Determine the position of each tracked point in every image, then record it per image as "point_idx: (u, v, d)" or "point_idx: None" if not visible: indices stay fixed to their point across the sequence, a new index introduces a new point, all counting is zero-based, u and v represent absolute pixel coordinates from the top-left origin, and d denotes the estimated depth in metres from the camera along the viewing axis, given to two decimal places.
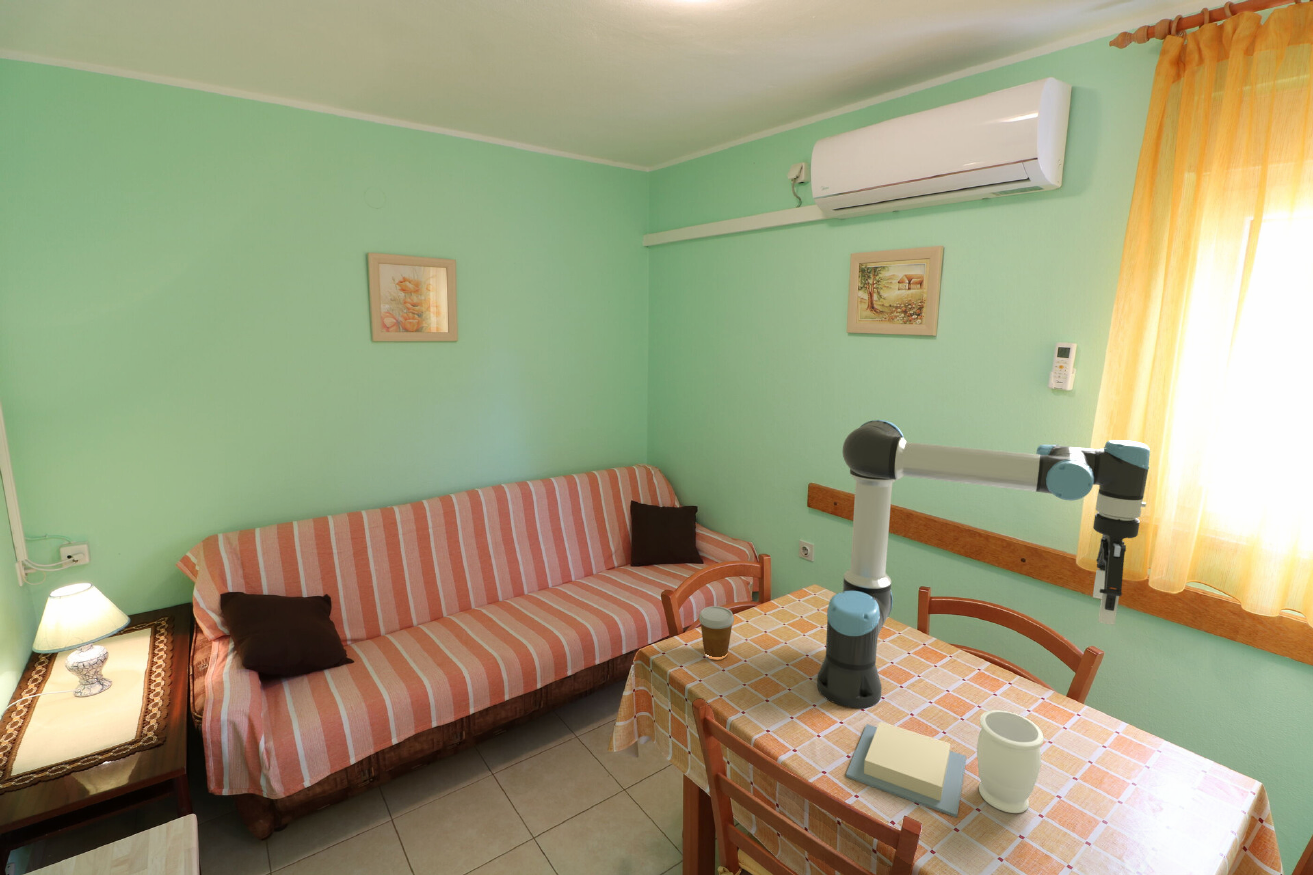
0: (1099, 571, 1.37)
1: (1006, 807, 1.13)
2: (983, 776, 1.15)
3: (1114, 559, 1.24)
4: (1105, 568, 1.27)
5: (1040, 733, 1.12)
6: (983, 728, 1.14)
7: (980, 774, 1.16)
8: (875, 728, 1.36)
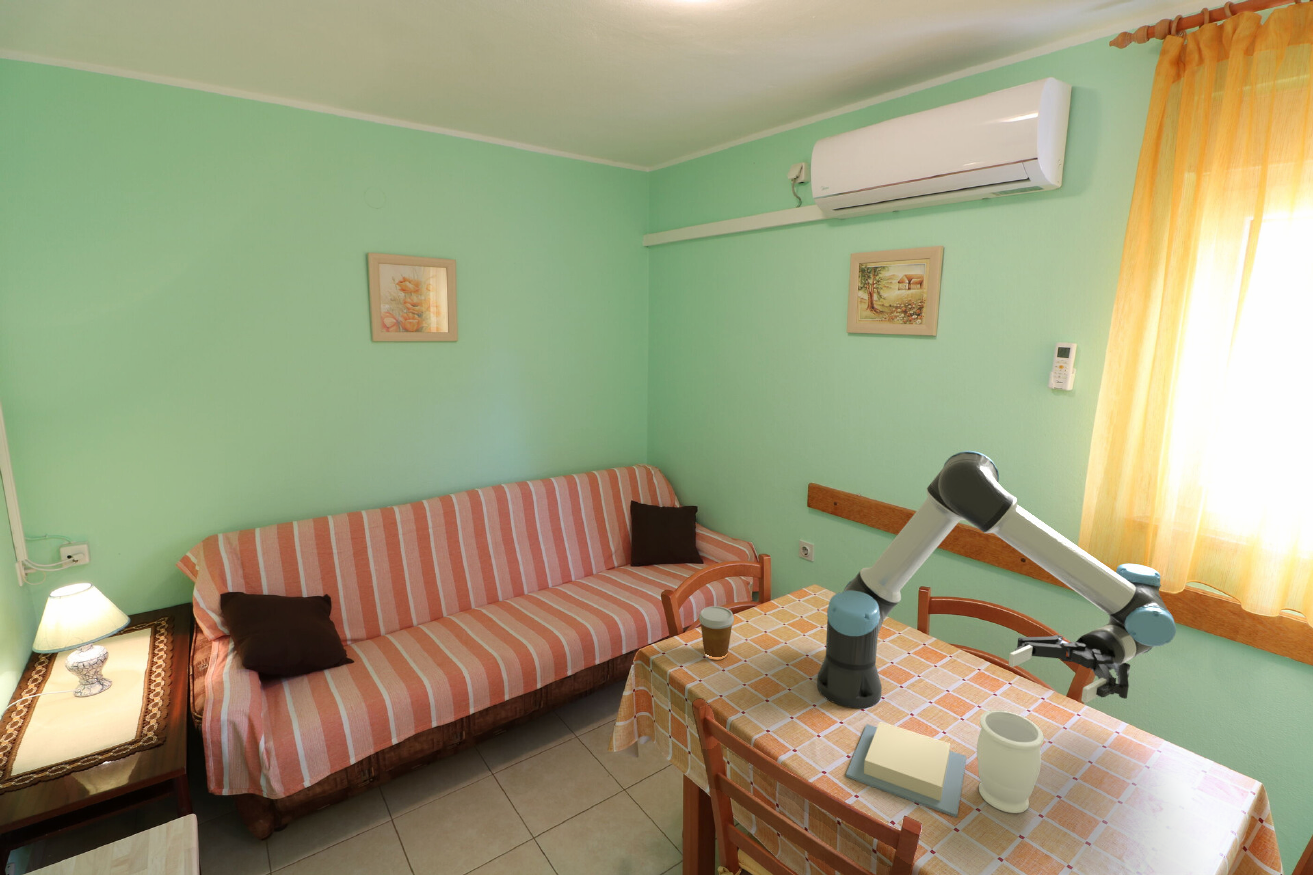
0: (1031, 648, 1.26)
1: (1006, 807, 1.13)
2: (983, 776, 1.15)
3: None
4: (1102, 667, 1.18)
5: (1040, 733, 1.12)
6: (983, 728, 1.14)
7: (980, 774, 1.16)
8: (875, 728, 1.36)
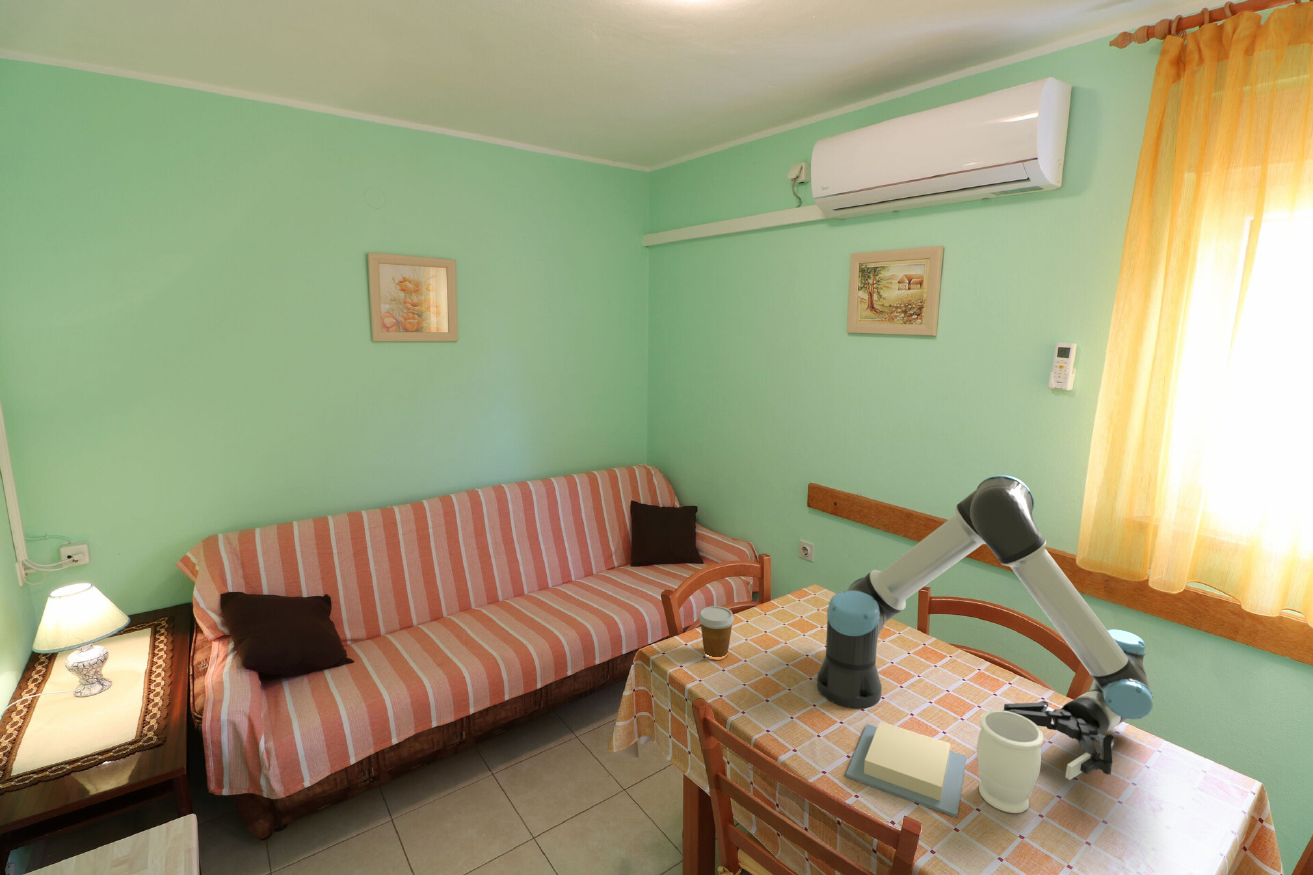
0: None
1: (1006, 807, 1.13)
2: (983, 776, 1.15)
3: None
4: (1087, 739, 1.19)
5: (1040, 733, 1.12)
6: (983, 728, 1.14)
7: (980, 774, 1.16)
8: (875, 728, 1.36)
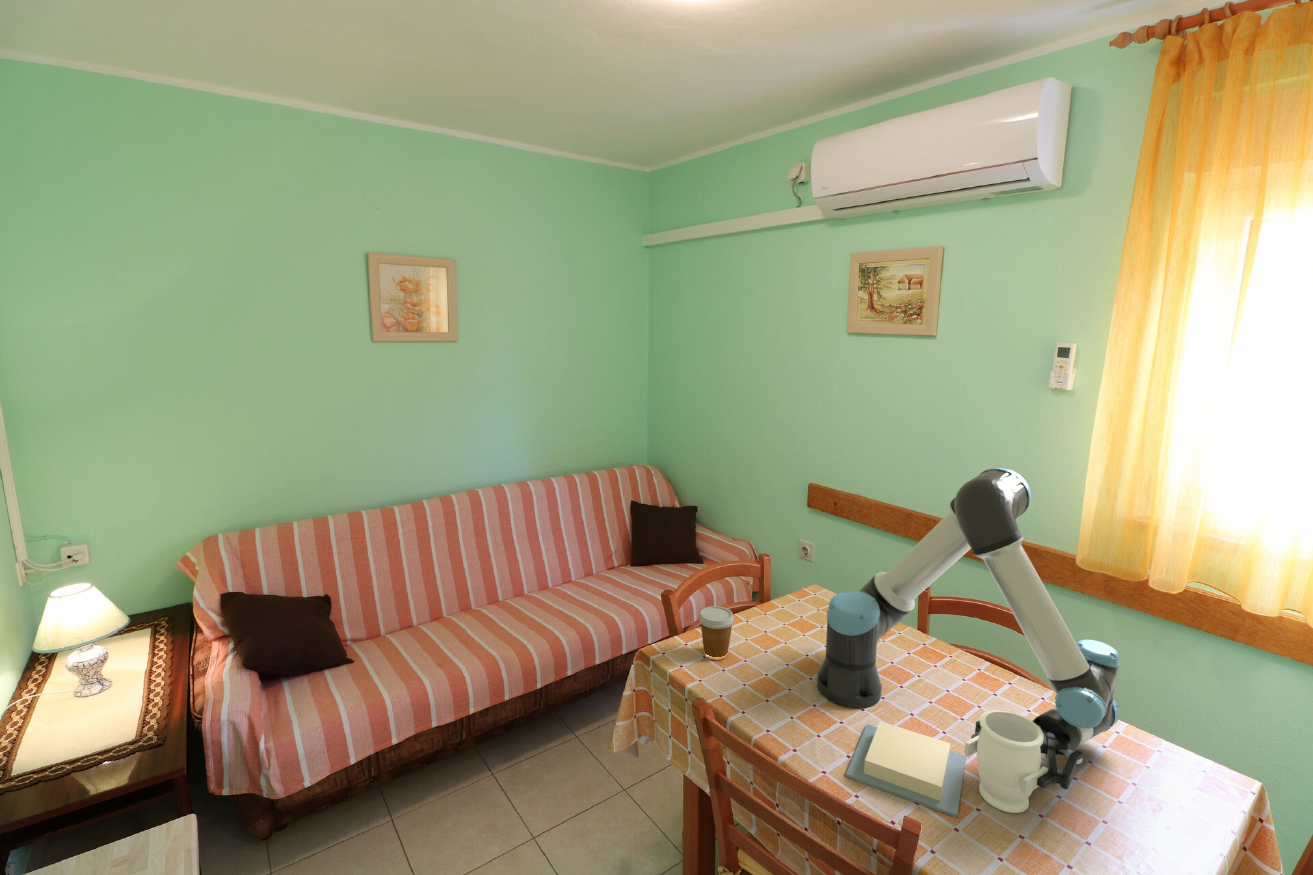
0: None
1: (1006, 807, 1.13)
2: (983, 776, 1.15)
3: (1076, 762, 1.14)
4: (1050, 753, 1.15)
5: (1040, 733, 1.12)
6: (983, 728, 1.14)
7: (980, 774, 1.16)
8: (875, 728, 1.36)
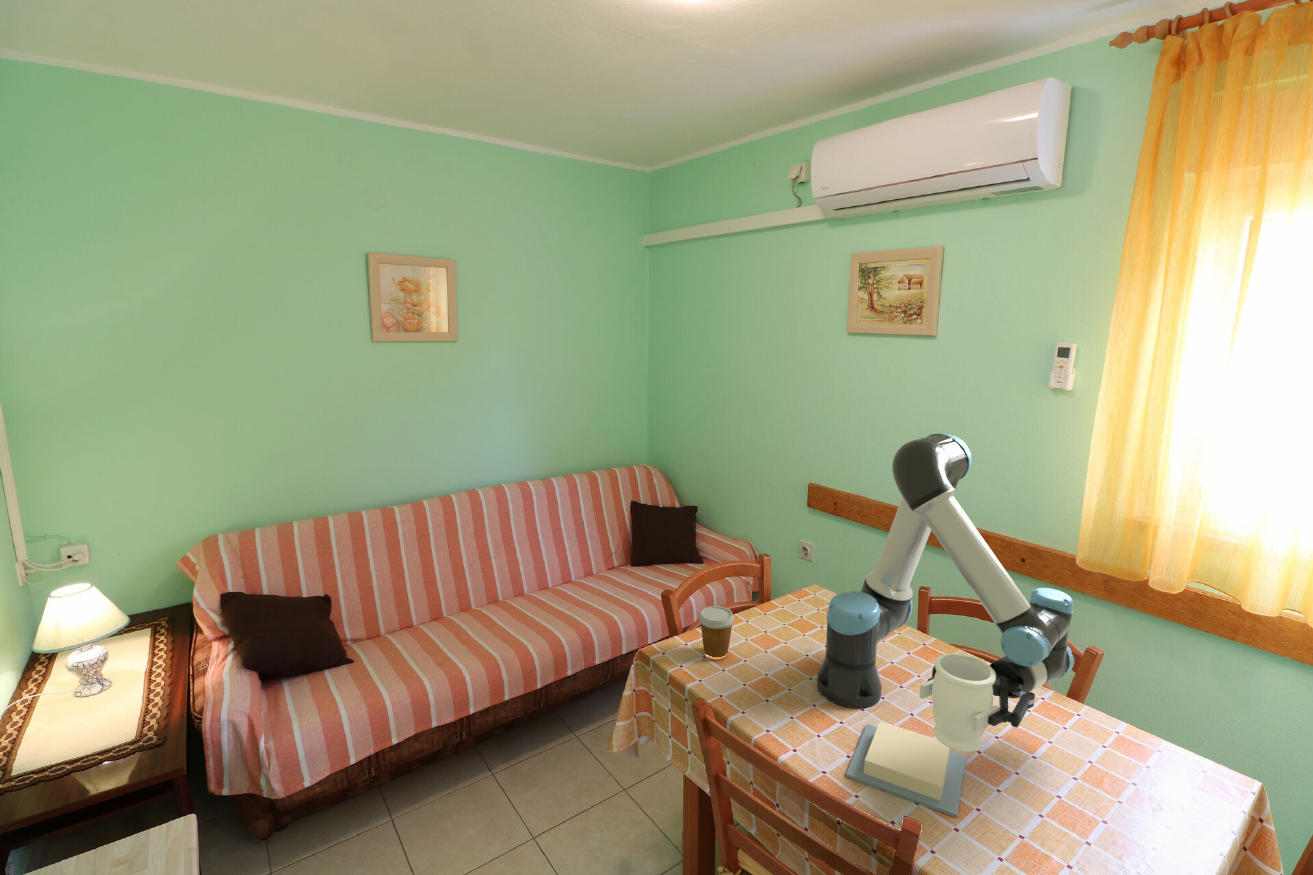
0: None
1: (958, 746, 1.15)
2: (937, 717, 1.16)
3: (1028, 703, 1.16)
4: (1003, 694, 1.17)
5: (992, 673, 1.14)
6: (937, 669, 1.16)
7: (934, 715, 1.18)
8: (875, 728, 1.36)
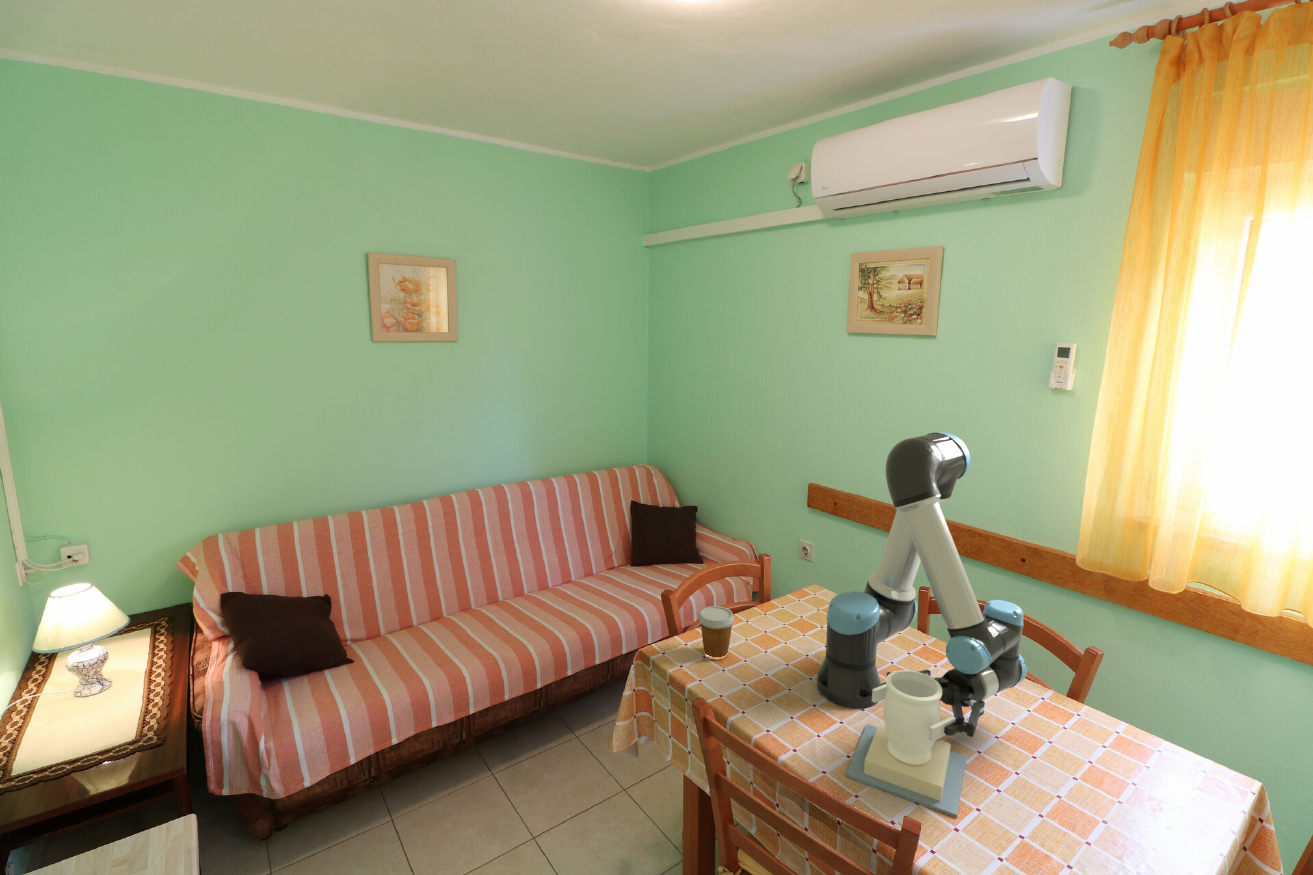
0: None
1: (908, 759, 1.20)
2: (888, 731, 1.22)
3: (979, 711, 1.21)
4: (957, 704, 1.22)
5: (939, 690, 1.19)
6: (887, 685, 1.22)
7: (886, 729, 1.23)
8: (875, 728, 1.36)
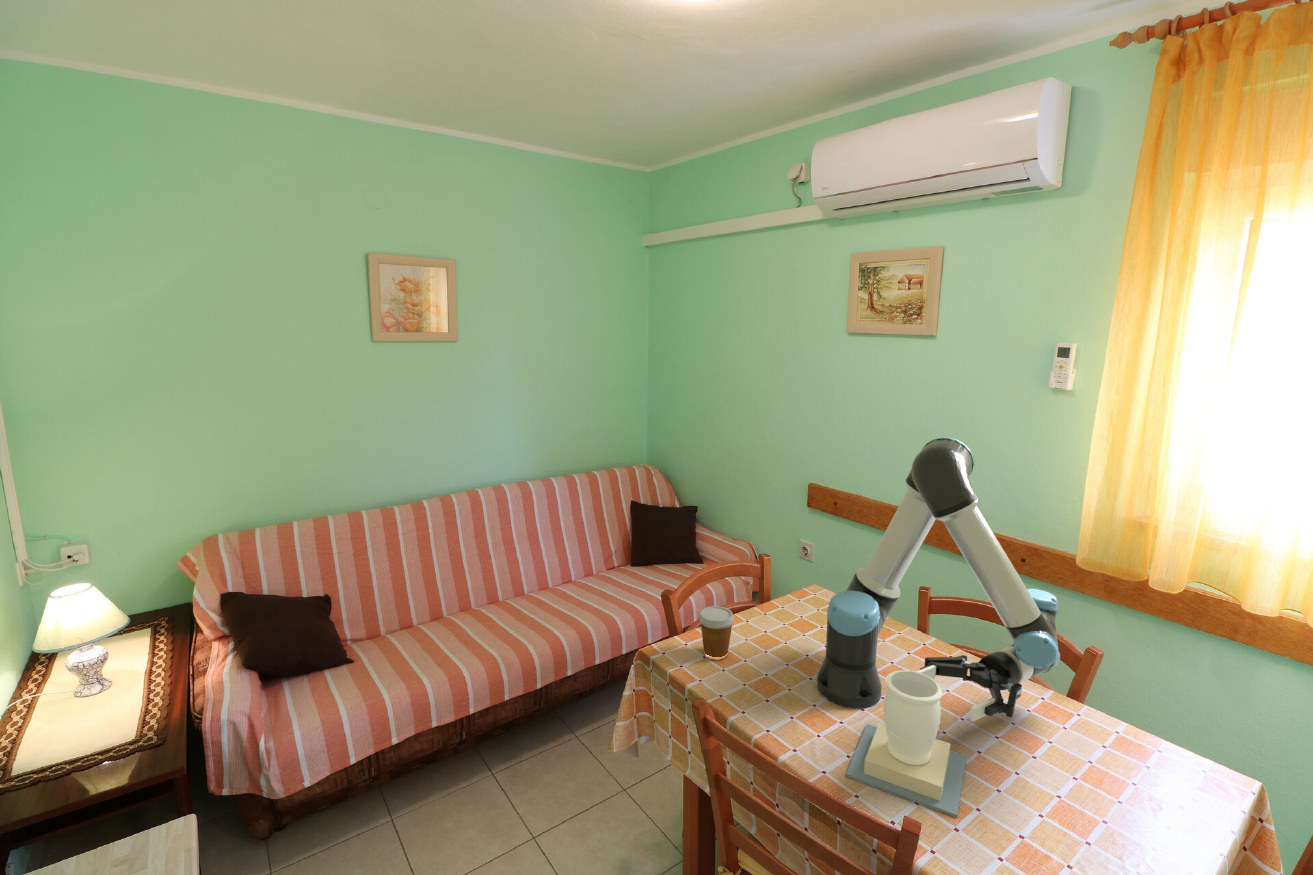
0: (935, 668, 1.35)
1: (908, 759, 1.20)
2: (888, 731, 1.22)
3: (1016, 693, 1.27)
4: (995, 687, 1.27)
5: (939, 690, 1.19)
6: (887, 685, 1.22)
7: (886, 729, 1.23)
8: (875, 728, 1.36)
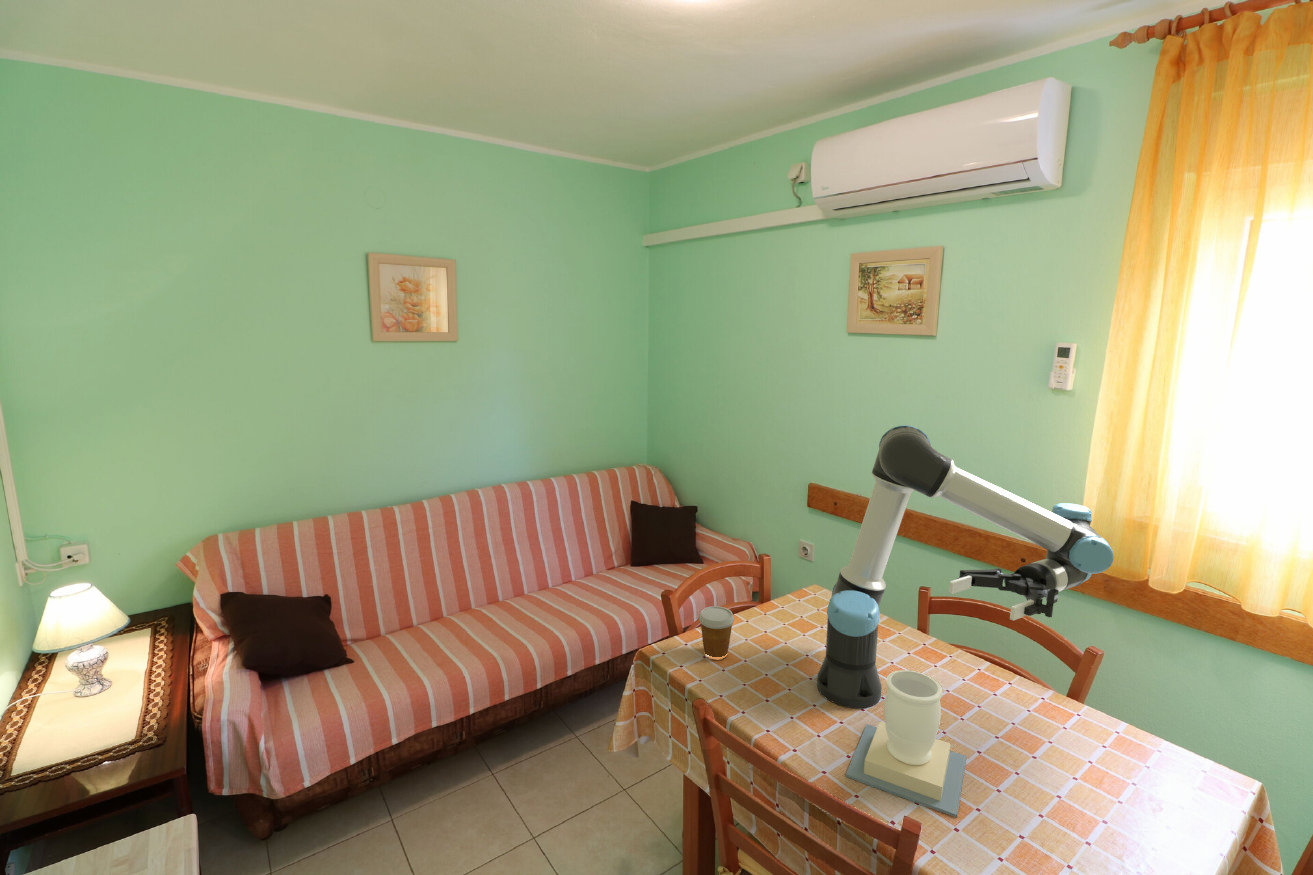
0: (970, 578, 1.36)
1: (908, 759, 1.20)
2: (889, 731, 1.22)
3: (1054, 597, 1.28)
4: (1033, 591, 1.29)
5: (939, 690, 1.19)
6: (888, 685, 1.22)
7: (886, 729, 1.23)
8: (875, 728, 1.36)
